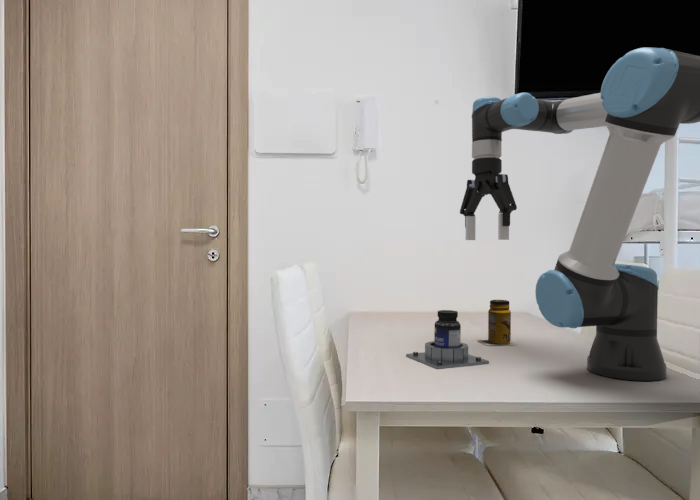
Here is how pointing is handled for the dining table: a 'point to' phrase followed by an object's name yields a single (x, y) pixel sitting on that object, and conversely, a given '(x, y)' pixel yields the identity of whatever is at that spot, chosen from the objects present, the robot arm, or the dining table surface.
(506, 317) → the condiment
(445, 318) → the pill bottle
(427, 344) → the fitting
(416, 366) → the dining table surface
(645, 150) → the robot arm
